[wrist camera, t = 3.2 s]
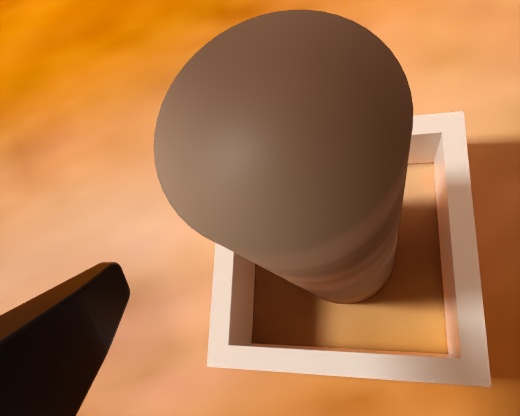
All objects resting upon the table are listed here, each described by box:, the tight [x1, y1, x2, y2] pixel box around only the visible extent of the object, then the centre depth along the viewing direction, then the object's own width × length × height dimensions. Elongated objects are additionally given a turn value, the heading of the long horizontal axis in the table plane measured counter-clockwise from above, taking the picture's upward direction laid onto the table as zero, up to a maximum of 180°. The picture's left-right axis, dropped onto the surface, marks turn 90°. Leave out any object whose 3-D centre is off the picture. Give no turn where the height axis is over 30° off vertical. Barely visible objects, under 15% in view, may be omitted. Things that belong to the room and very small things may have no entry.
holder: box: [207, 111, 491, 387], centre depth 17 cm, size 10×10×3 cm
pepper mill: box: [154, 10, 413, 304], centre depth 13 cm, size 4×4×12 cm
